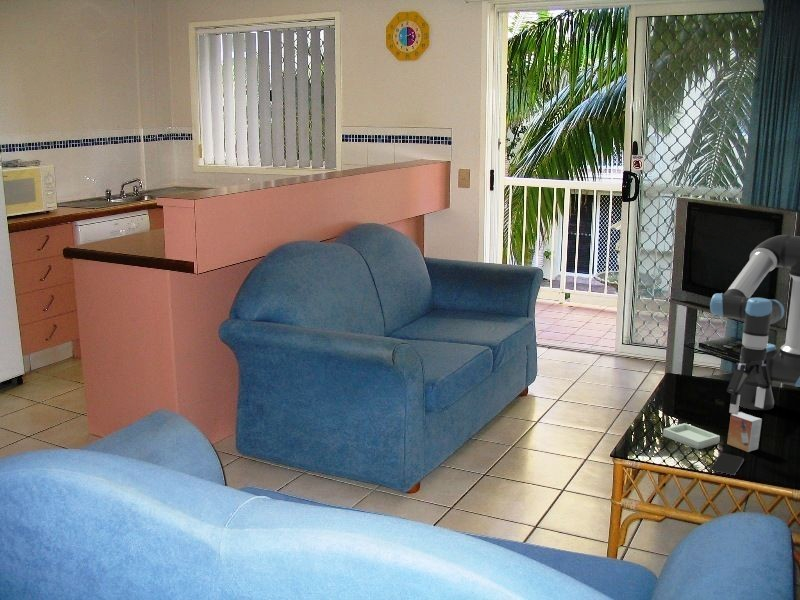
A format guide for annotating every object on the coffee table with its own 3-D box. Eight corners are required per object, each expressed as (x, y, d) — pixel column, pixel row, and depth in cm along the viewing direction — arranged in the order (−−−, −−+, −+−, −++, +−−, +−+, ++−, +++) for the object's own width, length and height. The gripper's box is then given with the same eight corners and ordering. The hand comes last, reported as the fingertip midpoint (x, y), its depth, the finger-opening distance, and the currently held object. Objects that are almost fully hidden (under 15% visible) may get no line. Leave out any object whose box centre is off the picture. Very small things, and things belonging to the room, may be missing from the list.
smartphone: (709, 469, 263) (720, 452, 275) (709, 473, 263) (720, 456, 276) (734, 475, 259) (744, 457, 272) (734, 478, 259) (744, 461, 272)
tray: (684, 429, 297) (684, 423, 296) (719, 443, 286) (719, 435, 285) (662, 435, 291) (663, 428, 290) (697, 449, 279) (698, 442, 279)
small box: (726, 444, 285) (730, 414, 282) (736, 441, 288) (740, 411, 286) (748, 452, 278) (752, 421, 276) (758, 449, 281) (762, 418, 279)
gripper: (766, 339, 286) (759, 401, 290) (719, 348, 272) (712, 412, 276) (787, 344, 280) (779, 407, 284) (740, 354, 266) (733, 419, 270)
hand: (746, 410), depth 280 cm, fingers open, 13 cm apart
